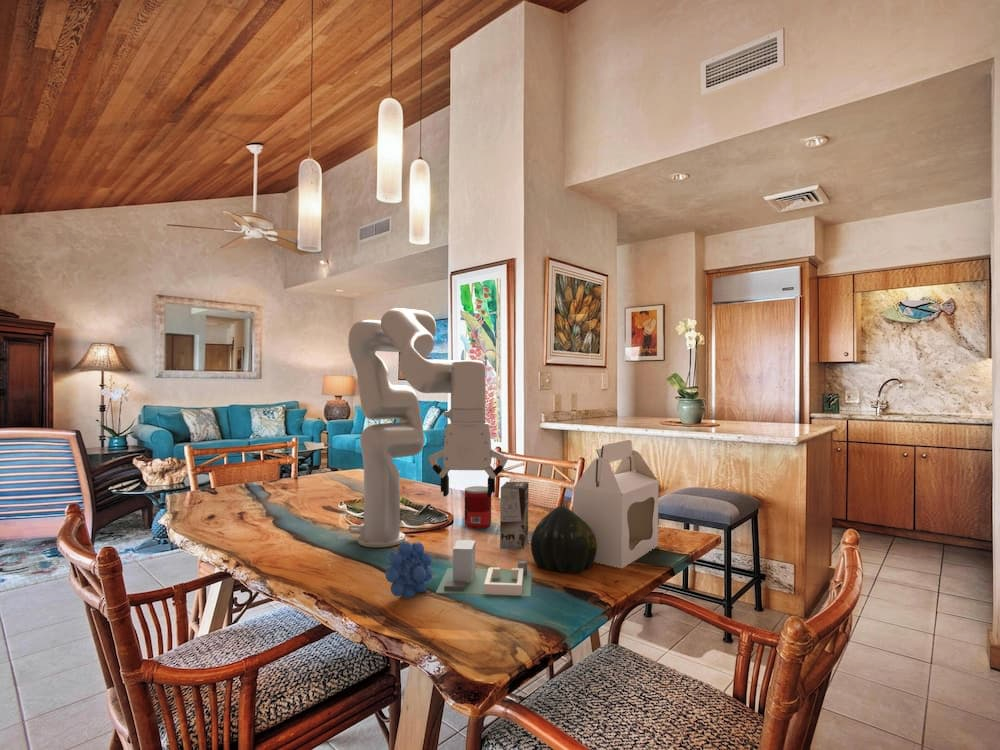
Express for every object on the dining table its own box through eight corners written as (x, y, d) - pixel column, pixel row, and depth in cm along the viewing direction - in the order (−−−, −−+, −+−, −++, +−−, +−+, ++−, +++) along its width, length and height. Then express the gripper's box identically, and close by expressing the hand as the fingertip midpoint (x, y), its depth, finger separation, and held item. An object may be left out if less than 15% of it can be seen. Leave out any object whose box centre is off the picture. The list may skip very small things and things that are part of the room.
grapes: (401, 616, 100) (401, 551, 100) (378, 606, 104) (378, 544, 104) (446, 597, 109) (446, 537, 109) (423, 588, 113) (423, 531, 113)
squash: (565, 564, 112) (589, 502, 120) (510, 551, 122) (535, 495, 130) (593, 594, 120) (614, 534, 128) (539, 580, 130) (561, 525, 138)
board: (435, 598, 108) (435, 580, 108) (447, 573, 122) (447, 556, 122) (530, 602, 106) (530, 583, 106) (531, 576, 120) (531, 559, 120)
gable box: (613, 537, 151) (613, 437, 151) (658, 546, 142) (659, 440, 142) (572, 557, 133) (572, 444, 133) (621, 569, 125) (621, 449, 125)
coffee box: (523, 551, 137) (524, 488, 138) (499, 549, 139) (499, 487, 139) (529, 540, 146) (529, 481, 146) (505, 539, 148) (506, 480, 148)
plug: (452, 581, 114) (453, 548, 114) (458, 569, 121) (458, 538, 121) (471, 582, 113) (471, 549, 113) (476, 569, 121) (476, 538, 121)
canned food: (495, 526, 161) (496, 489, 161) (473, 530, 156) (473, 492, 156) (482, 520, 167) (482, 485, 167) (459, 524, 162) (460, 487, 162)
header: (484, 594, 107) (484, 584, 107) (488, 576, 117) (488, 567, 117) (521, 595, 107) (521, 585, 107) (523, 577, 116) (523, 568, 116)
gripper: (425, 417, 114) (425, 498, 114) (506, 418, 113) (506, 500, 113) (432, 415, 122) (432, 491, 121) (508, 415, 120) (508, 492, 120)
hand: (467, 495), depth 117 cm, fingers open, 9 cm apart
